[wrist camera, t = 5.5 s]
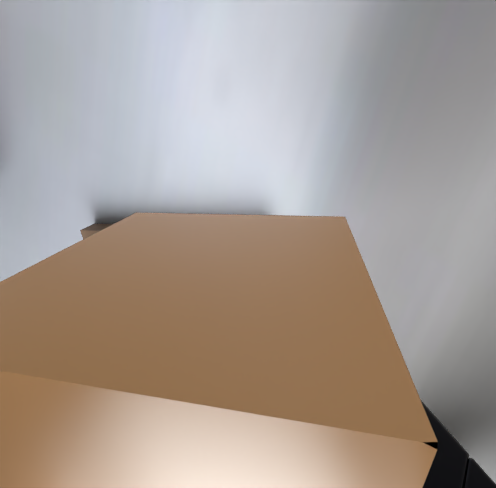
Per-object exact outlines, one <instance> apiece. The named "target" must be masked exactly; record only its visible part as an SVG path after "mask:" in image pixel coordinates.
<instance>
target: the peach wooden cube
mask: <svg viewBox="0 0 496 488" xmlns="http://www.w3.org/2000/svg"><path fill="white" fill-rule="evenodd" d="M437 446H438V441H437V439H436V436H435V434H434V432H433V429H432V427H431V424H430V422H429V419H428V417H427V415H426V412H425V410H424V407H423V405H422V402H421V400H420V398H419V395H418V393H417V390H416V388H415V385H414V383H413V381H412V378H411V376H410V373H409V371H408V368H407V366H406V364H405V361H404V359H403V356H402V354H401V351H400V349H399V347H398V344H397V342H396V339H395V337H394V334H393V332H392V330H391V327H390V325H389V322H388V320H387V317H386V315H385V313H384V310H383V308H382V305H381V303H380V300H379V298H378V296H377V293H376V291H375V288H374V286H373V283H372V281H371V279H370V276H369V274H368V271H367V269H366V266H365V264H364V262H363V259H362V257H361V254H360V252H359V249H358V247H357V245H356V242H355V240H354V237H353V235H352V233H351V230H350V228H349V225H348V223H347V220H346V218H345V217H335V216H285V215H236V214H186V213H134V214H132V215H130V216H128V217H126V218H124V219H123V220H121V221H119V222H117V223H115V224H113V225H111V226H109V227H107V228H105V229H103V230H101V231H99V232H97V233H95V234H93V235H91V236H89V237H87V238H85V239H83V240H82V241H80V242H78V243H76V244H74V245H72V246H70V247H68V248H66V249H64V250H62V251H60V252H58V253H56V254H54V255H52V256H50V257H48V258H46V259H44V260H42V261H40V262H39V263H37V264H35V265H33V266H31V267H29V268H27V269H25V270H23V271H21V272H19V273H17V274H15V275H13V276H11V277H9V278H7V279H5V280H3V281H1V282H0V488H423V485H424V483H425V480H426V477H427V475H428V472H429V470H430V467H431V465H432V462H433V460H434V457H435V454H436V452H437Z"/></svg>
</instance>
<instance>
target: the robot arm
mask: <svg viewBox="0 0 496 488" xmlns="http://www.w3.org/2000/svg"><path fill="white" fill-rule="evenodd" d="M421 402H422V401H421ZM422 405H423V407H424V410H425V412H426V415H427V417H428V419H429V422H430V424H431V427H432V429H433V432H434V434H435V436H436V439H437V441H438V446H437V452H436V454H435V457H434V460H433V462H432V465H431V467H430V470H429V472H428V475H427V477H426V480H425V483H424V485H423V488H496V484H495V483H494V482H493V481H492V480H491V478H490V477H489V476H488V475H487V474H486V473H485V472H484V471H483V469H482V468H481V467H480V466H479V465H478V464H477V463H476V462H475V460H474V459H472V458H469V454H468V453H467V452H466V451H465V449H464V448H463V447H462V446H461V445H460V444H459V443H458V442H457V440H456V439H455V438H454V437H453V436H452V435H451V434H450V433H449V431H448V430H447V429H446V428H445V427H444V426H443V425H442V424H441V422H440V421H439V420H438V419H437V418H436V417H435V416H434V415H433V413H432V412H431V411H430V410H429V409H428V408H427V407H426V406H425V404H424V403H423V402H422ZM468 458H469V459H468Z"/></svg>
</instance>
